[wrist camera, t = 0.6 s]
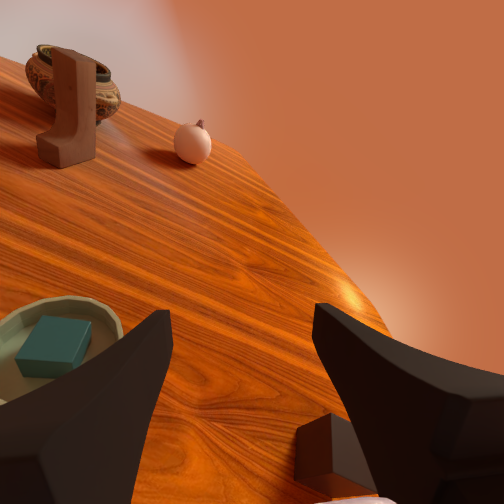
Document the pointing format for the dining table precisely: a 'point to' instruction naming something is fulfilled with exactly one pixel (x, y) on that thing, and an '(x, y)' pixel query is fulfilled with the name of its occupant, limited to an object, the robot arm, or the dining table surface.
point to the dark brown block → (332, 459)
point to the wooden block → (71, 111)
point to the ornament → (192, 142)
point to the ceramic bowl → (43, 83)
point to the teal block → (54, 347)
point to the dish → (24, 320)
